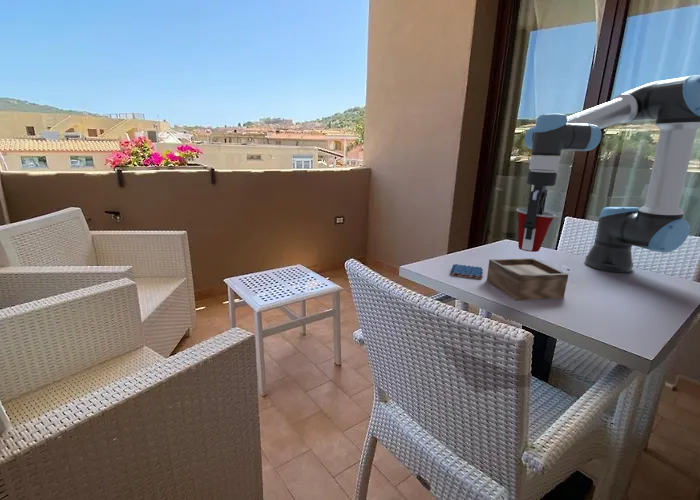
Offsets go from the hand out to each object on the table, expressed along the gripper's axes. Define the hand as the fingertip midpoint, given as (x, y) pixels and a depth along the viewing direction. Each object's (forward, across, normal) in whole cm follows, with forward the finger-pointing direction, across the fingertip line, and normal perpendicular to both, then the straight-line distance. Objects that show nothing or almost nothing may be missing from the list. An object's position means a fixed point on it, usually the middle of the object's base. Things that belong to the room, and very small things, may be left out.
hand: (529, 246), depth 111 cm
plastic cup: (+1, 0, 0) cm, 1 cm away
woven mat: (+15, -4, -19) cm, 24 cm away
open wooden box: (+14, 0, 0) cm, 14 cm away
